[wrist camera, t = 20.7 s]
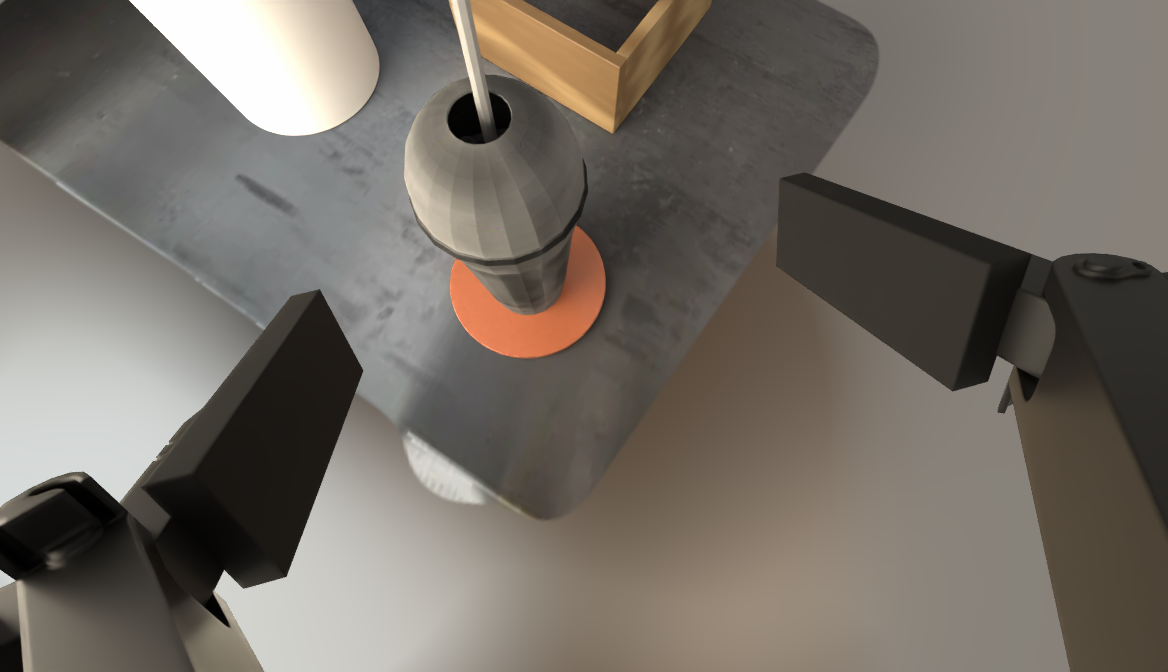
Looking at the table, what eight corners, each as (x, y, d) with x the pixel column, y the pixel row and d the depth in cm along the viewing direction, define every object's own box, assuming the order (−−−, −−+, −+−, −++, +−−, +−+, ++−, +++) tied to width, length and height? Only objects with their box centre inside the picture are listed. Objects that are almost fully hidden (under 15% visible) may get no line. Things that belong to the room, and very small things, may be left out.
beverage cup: (463, 330, 30) (242, 99, 10) (480, 224, 31) (320, -145, 12) (579, 342, 30) (578, 130, 10) (590, 234, 31) (607, -122, 12)
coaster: (583, 199, 32) (583, 195, 32) (623, 336, 30) (624, 334, 30) (439, 233, 32) (436, 229, 31) (468, 376, 30) (466, 375, 29)
